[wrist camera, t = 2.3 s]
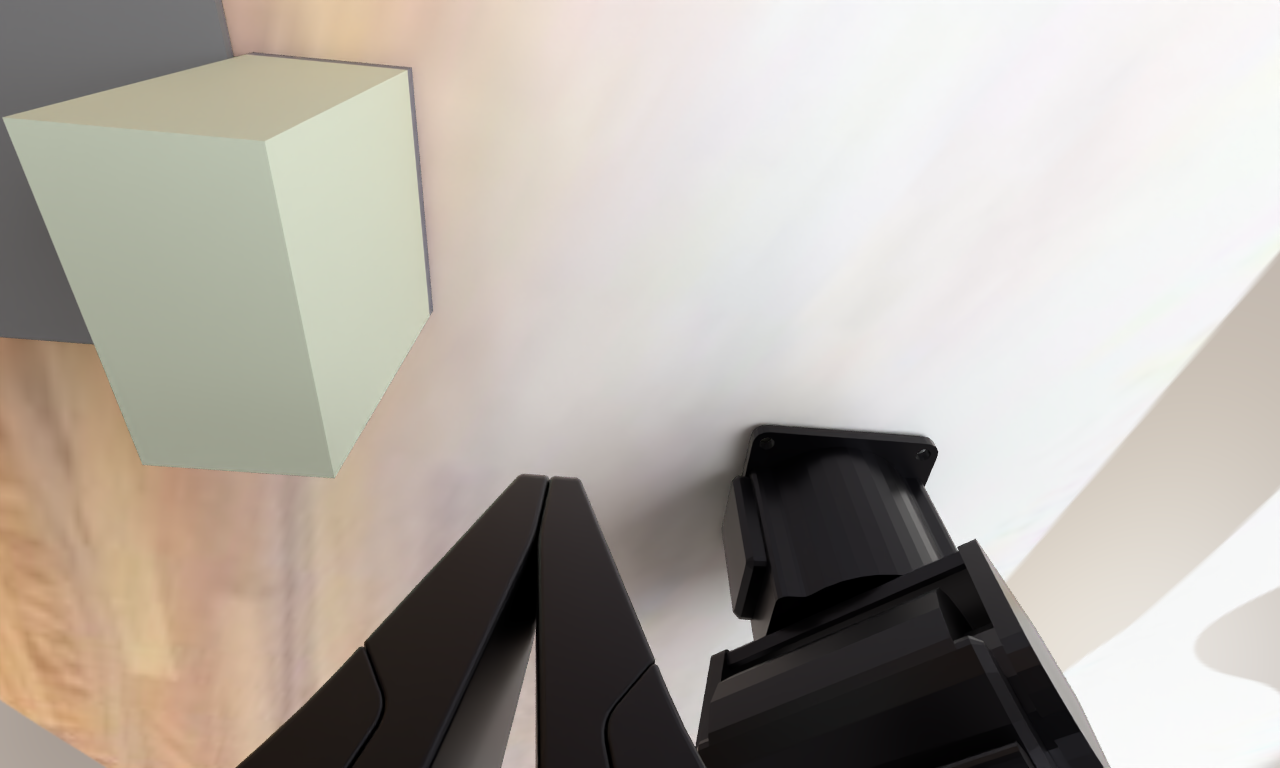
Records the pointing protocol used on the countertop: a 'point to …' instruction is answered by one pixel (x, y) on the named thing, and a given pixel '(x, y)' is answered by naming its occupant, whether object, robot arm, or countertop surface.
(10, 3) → the mat
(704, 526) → the countertop surface
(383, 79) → the sage block
